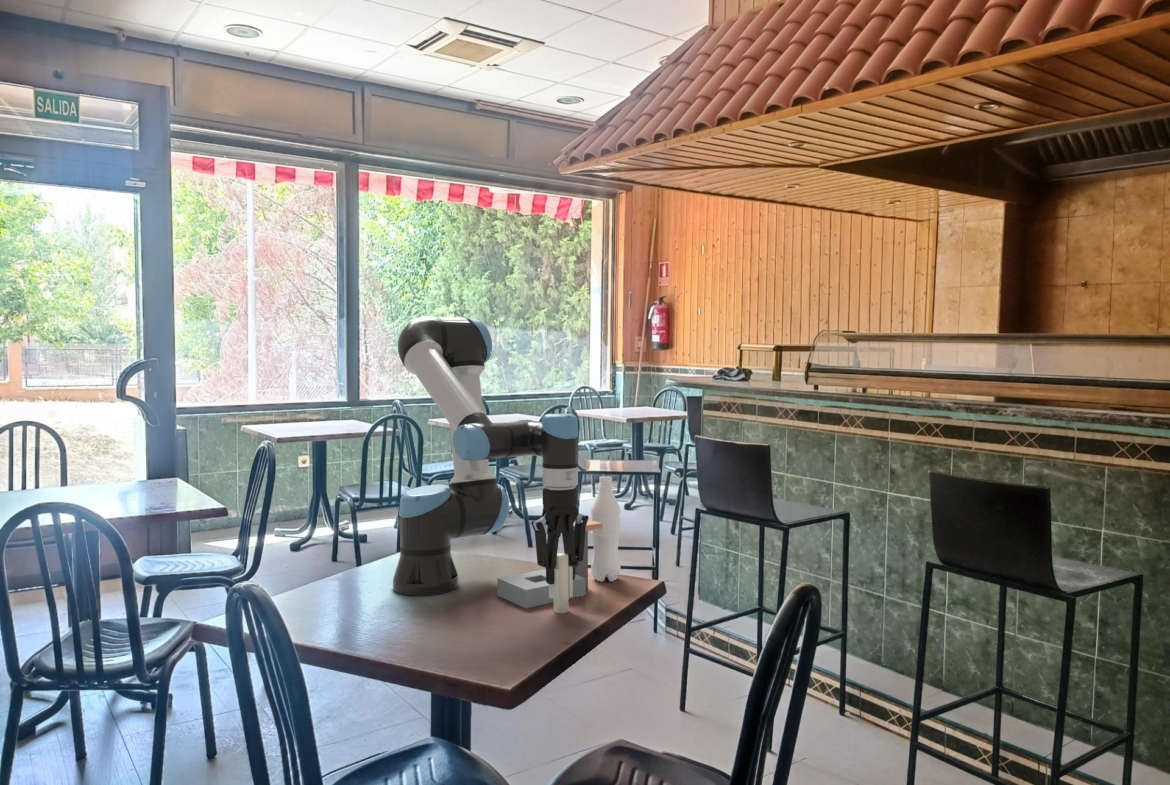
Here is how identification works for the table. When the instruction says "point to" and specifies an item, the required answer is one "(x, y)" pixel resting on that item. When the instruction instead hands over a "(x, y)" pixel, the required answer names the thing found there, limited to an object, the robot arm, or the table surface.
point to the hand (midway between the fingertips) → (560, 596)
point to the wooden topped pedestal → (586, 550)
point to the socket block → (533, 588)
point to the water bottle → (605, 533)
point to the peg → (562, 584)
